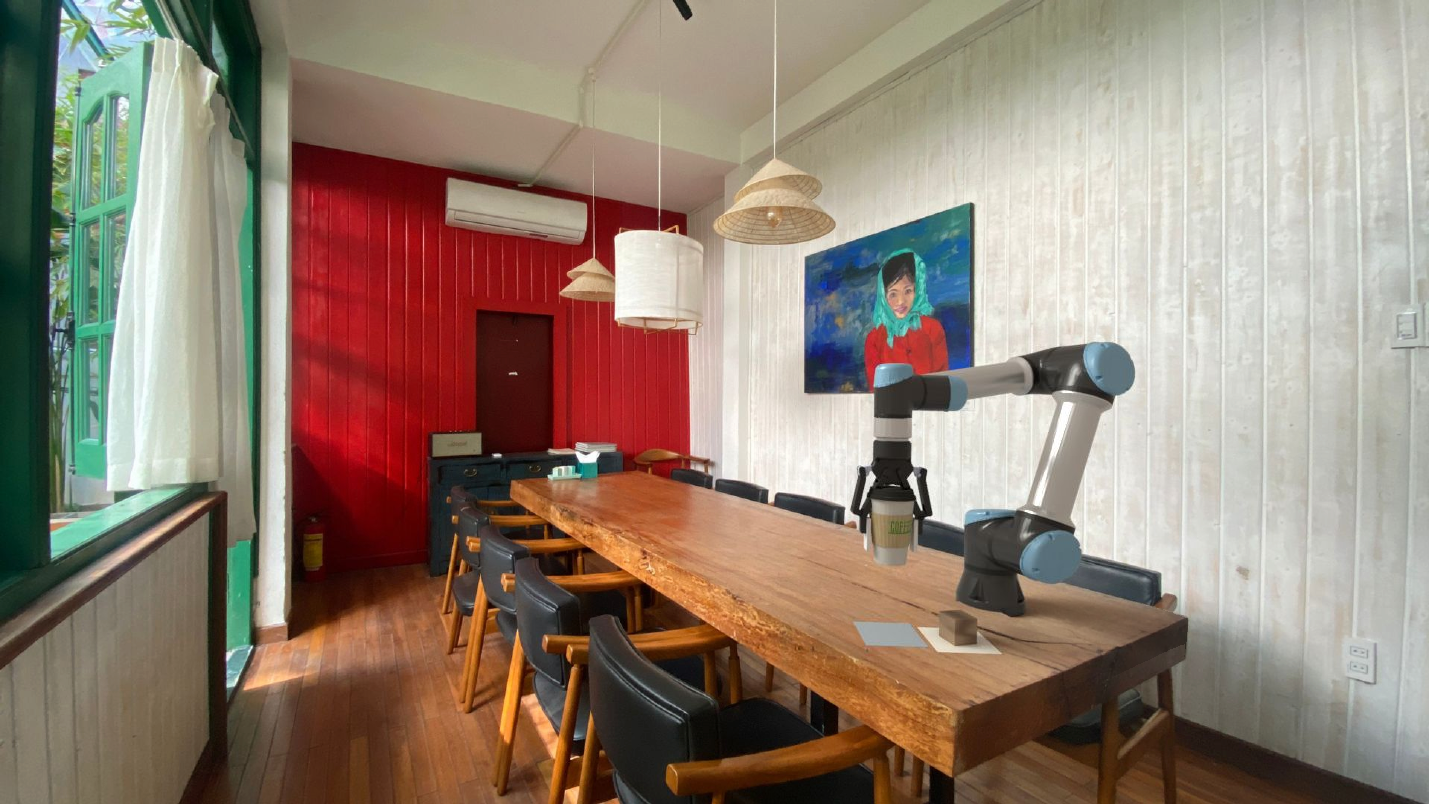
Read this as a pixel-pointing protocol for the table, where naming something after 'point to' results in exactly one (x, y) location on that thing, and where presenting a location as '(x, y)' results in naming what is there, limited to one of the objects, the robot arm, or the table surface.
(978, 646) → the pad
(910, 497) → the coffee cup
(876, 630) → the pad
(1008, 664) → the table surface
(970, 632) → the walnut block
